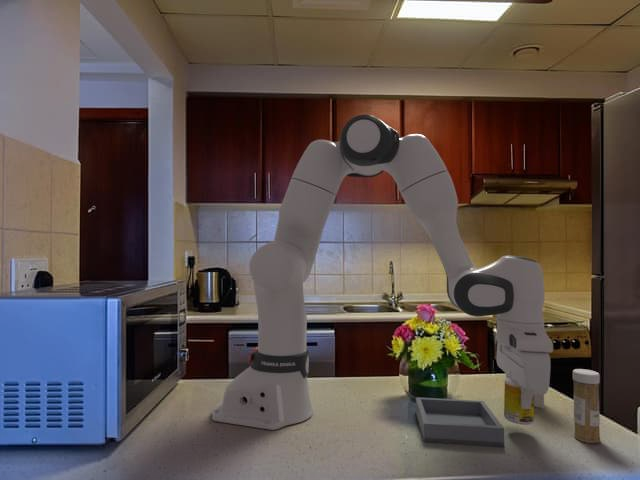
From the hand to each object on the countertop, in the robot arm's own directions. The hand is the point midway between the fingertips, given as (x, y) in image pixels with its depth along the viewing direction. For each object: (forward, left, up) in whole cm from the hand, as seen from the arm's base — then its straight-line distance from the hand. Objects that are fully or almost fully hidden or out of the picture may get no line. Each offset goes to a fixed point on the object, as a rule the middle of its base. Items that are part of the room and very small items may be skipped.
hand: (518, 401), depth 86 cm
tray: (-12, 0, -6) cm, 14 cm away
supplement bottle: (0, 0, -4) cm, 4 cm away
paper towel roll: (+9, +19, -7) cm, 22 cm away
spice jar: (+13, -1, -7) cm, 14 cm away
